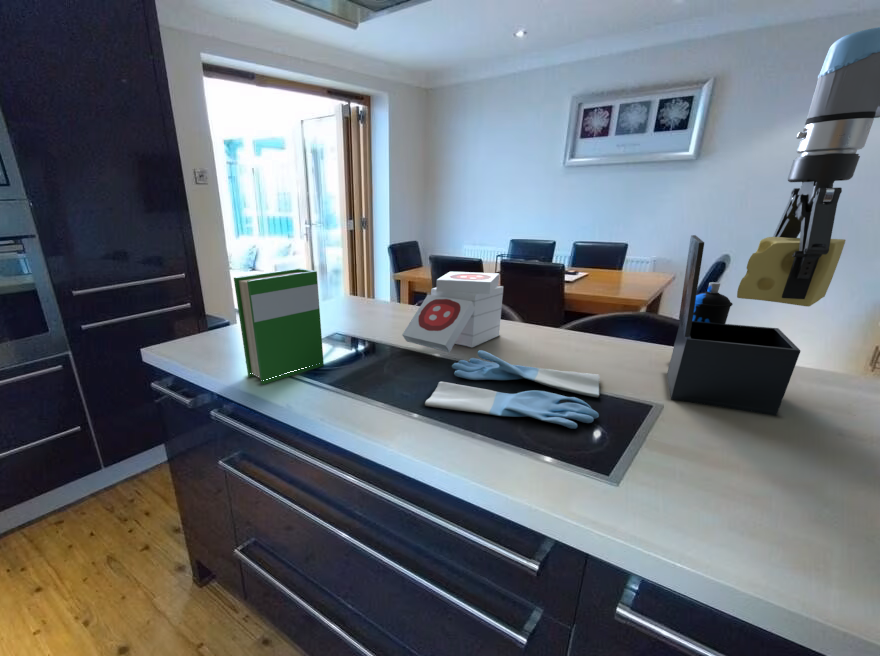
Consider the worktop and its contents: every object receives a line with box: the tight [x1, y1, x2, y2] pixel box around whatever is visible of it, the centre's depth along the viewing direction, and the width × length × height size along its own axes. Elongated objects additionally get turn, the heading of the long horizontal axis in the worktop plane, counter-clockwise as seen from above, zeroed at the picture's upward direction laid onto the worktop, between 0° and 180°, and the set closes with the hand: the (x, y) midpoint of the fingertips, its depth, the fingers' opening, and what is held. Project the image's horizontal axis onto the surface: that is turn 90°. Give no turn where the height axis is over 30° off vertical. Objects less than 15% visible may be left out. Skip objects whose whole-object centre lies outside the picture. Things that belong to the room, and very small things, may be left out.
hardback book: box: [233, 267, 325, 385], centre depth 106 cm, size 18×7×24 cm, turn 131°
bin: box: [666, 321, 802, 416], centre depth 89 cm, size 17×16×13 cm
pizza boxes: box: [401, 271, 504, 353], centre depth 126 cm, size 19×30×18 cm, turn 135°
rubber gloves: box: [424, 349, 601, 430], centre depth 93 cm, size 27×33×6 cm
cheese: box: [736, 236, 846, 307], centre depth 75 cm, size 10×11×10 cm
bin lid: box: [678, 234, 705, 337], centre depth 88 cm, size 17×16×1 cm
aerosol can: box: [692, 281, 734, 324], centre depth 101 cm, size 8×8×20 cm
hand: (781, 290), depth 77 cm, fingers closed on cheese, 13 cm apart
